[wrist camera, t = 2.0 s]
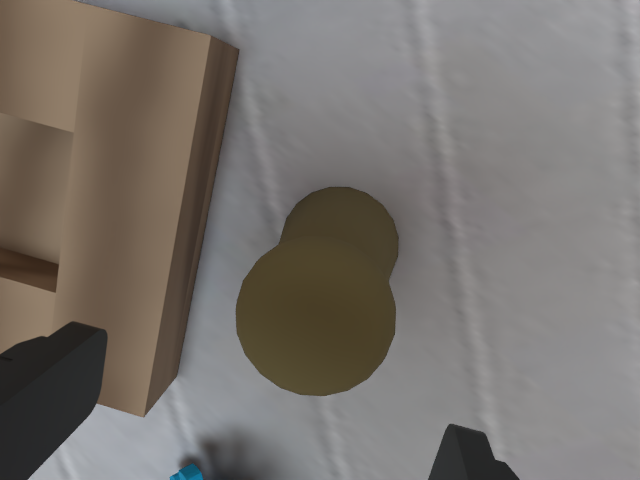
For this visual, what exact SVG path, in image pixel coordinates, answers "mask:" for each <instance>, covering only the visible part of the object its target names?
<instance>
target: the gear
mask: <svg viewBox="0 0 640 480" xmlns="http://www.w3.org/2000/svg"><path fill="white" fill-rule="evenodd" d="M170 480H203V477H202V474H201V472H200V470H199V469H198V468H197V466H196V465H194V464H193V463H192V464H190V465H188V466H186V467H184V468H182V469H180V470H179V472H178V473H176V474H174V475H172V476H171V477H170Z"/></svg>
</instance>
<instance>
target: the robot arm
mask: <svg viewBox="0 0 640 480" xmlns="http://www.w3.org/2000/svg"><path fill="white" fill-rule="evenodd" d="M107 341H108V335H107V331H106V330H104V329H101V328H98V327H94V326H90V325H86V324H83V323H79V322H75V321H72V322H69V323H68V324H66V325H65V326H63V327H62V328H60V329H59V330H57V331H56V332H54V333H53V334H51V335H50V336H48V337H45V336H39V337H36V338H33V339H30V340H27V341H23V342H20V343H17V344H15V345H14V346H12V347H11V348H9V349H7V350H6V351H4V352H3V353H1V354H0V480H28V479H29V477H30V476H31V475H32V474H33V473H34V472H35V471H36V470H37V469H38V468H39V467H40V466H41V465H42V464H43V463H44V462H45V461H46V460H47V459H48V458H49V457H50V456H51V455H52V454H53V452H54V451H55V450H56V449H57V448H58V447H59V446H60V445H61V444H62V443H63V442H64V441H65V440H66V439H67V438H68V437H69V436H70V435H71V434H72V433H73V432H74V431H75V430H76V429H77V428H78V426H79V425H80V424H81V423H82V422H83V421H84V420H85V419H86V418H87V417H88V416H89V415H90V413H91V412H92V410H93V409H94V407H95V405H96V403H97V401H98V398H99V395H100V392H101V387H102V379H103V372H104V364H105V356H106V349H107ZM428 480H520V479H519V478H518V477H517V476H516V475H515V473H514V472H513V471H512V470H511V469H510V467H509V466H508V465H507V464H506V463H505V462H501V461H498V460H495V458H494V456H493V453H492V450H491V447H490V444H489V442H488V439H487V436H486V434H485V433H484V432H480V431H476V430H473V429H469V428H465V427H462V426H458V425H454V424H449V425H448V427H447V428H446V430H445V433H444V436H443V439H442V441H441V444H440V447H439V450H438V453H437V456H436V459H435V461H434V464H433V467H432V470H431V473H430V476H429V479H428Z"/></svg>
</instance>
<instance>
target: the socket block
mask: <svg viewBox="0 0 640 480" xmlns="http://www.w3.org/2000/svg"><path fill="white" fill-rule="evenodd" d="M238 54H239V49H237V48H235V47H233V46H231V45H229V44H227V43H225V42H223V41H221V40H219V39H217V38H215V37H213V36H211V35H207V34H203V33H199V32H195V31H191V30H187V29H184V28H180V27H176V26H172V25H168V24H164V23H160V22H156V21H152V20H148V19H144V18H140V17H136V16H132V15H128V14H124V13H120V12H116V11H112V10H108V9H104V8H100V7H96V6H92V5H89V4H85V3H81V2H77V1H73V0H0V354H1V353H3V352H4V351H6V350H7V349H9V348H11V347H12V346H14V345H15V344H17V343H20V342H23V341H27V340H30V339H33V338H36V337H39V336H45V337H48V336H50V335H51V334H53V333H54V332H56V331H57V330H59V329H60V328H62V327H63V326H65V325H66V324H68V323H69V322H72V321H75V322H79V323H83V324H86V325H90V326H94V327H98V328H101V329H104V330H106V331H107V335H108V341H107V349H106V356H105V364H104V372H103V379H102V387H101V392H100V395H99V398H98V401H97V404H100V405H104V406H107V407H110V408H114V409H117V410H120V411H124V412H127V413H130V414H134V415H137V416H140V417H143V418H144V417H145V415H146V414H147V413H148V412H149V410H150V409H151V408H152V407H153V405H154V404H155V403H156V402H157V400H158V399H159V398H160V397H161V395H162V394H163V393H164V392H165V390H166V389H167V388H168V387H169V385H170V384H171V383H172V382H173V380H174V379H175V378H176V377H177V372H178V367H179V362H180V356H181V351H182V346H183V341H184V336H185V330H186V325H187V320H188V315H189V309H190V304H191V299H192V294H193V289H194V283H195V278H196V273H197V268H198V263H199V257H200V252H201V247H202V242H203V236H204V231H205V226H206V221H207V216H208V210H209V205H210V200H211V195H212V190H213V184H214V179H215V174H216V169H217V163H218V158H219V153H220V148H221V143H222V137H223V132H224V127H225V122H226V117H227V111H228V106H229V101H230V96H231V90H232V85H233V80H234V75H235V70H236V64H237V59H238Z"/></svg>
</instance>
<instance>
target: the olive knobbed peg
mask: <svg viewBox="0 0 640 480" xmlns="http://www.w3.org/2000/svg"><path fill="white" fill-rule="evenodd" d="M398 239H399V238H398V234H397V231H396V228H395V224H394V221H393V219H392V218H391V216H390V215H389V213H388V212H387V211H386V209H385V208H384V206H383V205H382V204H381V203H379V202H378V201H377V200H375V199H374V198H373V197H371V196H370V195H369V194H367V193H365V192H362V191H359V190H356V189H353V188H350V187H328V188H325V189H322V190H319V191H316V192H312V193H311V194H309V195H308V196H307V197H305V198H304V199H302V200H301V201H300V202H298V203H297V204H296V206H295V207H294V208H293V210H292V211H291V213H290V214H289V215H288V217H287V218H286V221H285V225H284V228H283V231H282V235H281V238H280V242H279V245H277V246H276V247H275V248H273V249H272V250H270V251H269V252H267V253H266V254H265V255H263V256H262V257H261V258H260V259H259V260H258V261H257V262H256V263H255V265H254V266H253V268H252V269H251V270H250V272H249V273H248V275H247V276H246V277H245V279H244V280H243V283H242V286H241V290H240V293H239V296H238V300H237V304H236V327H237V335H238V337H239V340H240V342H241V345H242V348H243V350H244V353H245V355H246V356H247V357H248V359H249V360H250V361H251V362H252V364H253V365H254V366H255V368H256V369H257V370H258V371H259V373H260V374H262V375H263V376H264V377H266V378H267V379H268V380H270V381H271V382H273V383H274V384H275V385H277V386H278V387H280V388H283V389H285V390H288V391H291V392H294V393H297V394H300V395H313V396H327V395H331V394H335V393H340V392H344V391H348V390H350V389H351V388H353V387H355V386H356V385H358V384H360V383H362V382H363V381H365V380H367V379H368V378H369V377H370V376H371V375H372V373H373V372H374V371H375V370H376V369H377V368H378V366H379V365H380V364H381V363H382V362H383V360H384V359H385V357H386V355H387V352H388V350H389V347H390V345H391V342H392V340H393V337H394V335H395V319H396V307H395V301H394V298H393V295H392V291H391V288H390V285H389V282H388V281H389V278H390V276H391V273H392V270H393V268H394V265H395V262H396V260H397V257H398Z"/></svg>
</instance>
